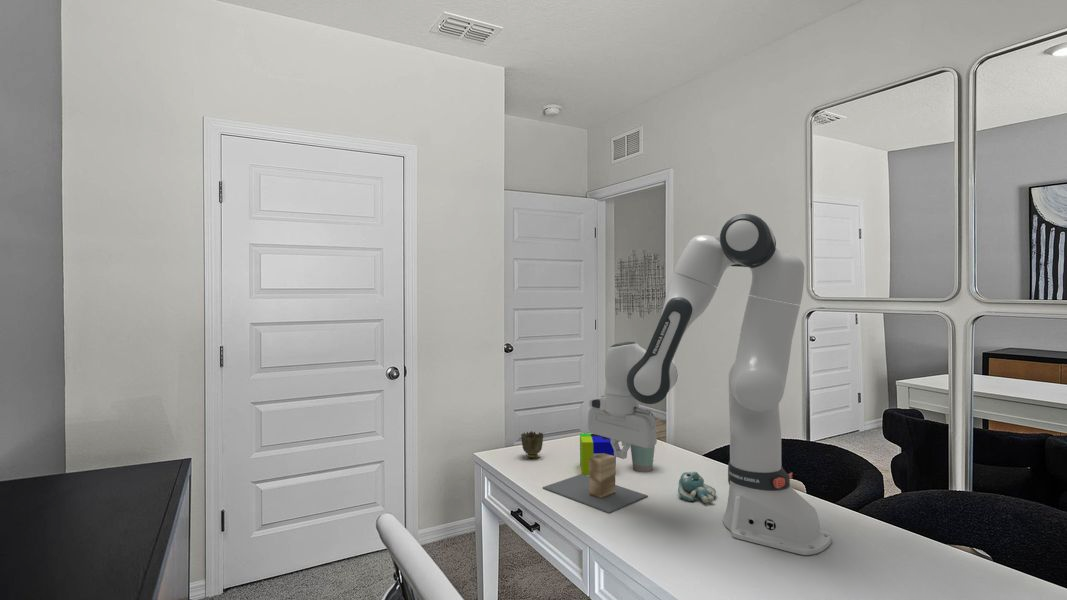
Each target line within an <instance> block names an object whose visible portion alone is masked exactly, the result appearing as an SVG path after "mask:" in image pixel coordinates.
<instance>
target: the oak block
mask: <svg viewBox="0 0 1067 600" xmlns="http://www.w3.org/2000/svg"><path fill="white" fill-rule="evenodd" d="M588 476H589V495H591V496H594V497H597V498H599V499H602V498H605V497H607V496H610V495H612V494H615V485H616V475H615V456H612V455H608V454H605V453H603V454H600V455H596V456H593V457H590V458H589V475H588Z"/></svg>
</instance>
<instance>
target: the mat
mask: <svg viewBox="0 0 1067 600" xmlns="http://www.w3.org/2000/svg"><path fill="white" fill-rule="evenodd" d="M542 489H543V490H546V491H548V492H552V493H553V494H556V495H559V496H562V497H564V498H567V499H569V500H572V501H575V502H577V503H580V504H582V505H586V506H588V507H591V508H593V509H596V510H598V511H601V512H604V513H606V514H608V515H609V514H612V513H615V512H617V511H618V510H621V509H623V508H626V507H628V506H630V505H633V504H635V503H637V502H639V501H642V500H644V499H646V498H649V495H648V494H645V493H643V492H638V491H635V490H633V489H629V488H626V487H623V486H621V485H617V484H615V494H612V495H610V496H607V497H605V498H602V499H599V498H597V497H594V496H591V495H589V475H583V474H582V473H581V474H577V475H574V476H572V477H568V478H565V479H563V480H560V481H556V482H554V483H551V484H547V485H545V486H542Z"/></svg>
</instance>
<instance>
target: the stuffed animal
mask: <svg viewBox="0 0 1067 600" xmlns="http://www.w3.org/2000/svg"><path fill="white" fill-rule="evenodd" d="M677 491H678V494H679V496H680V498H682V500H685V501H689V502H690V501H691V502H694V501H695V499H696V498H695V496H697V497H698V498H699V499H701V501H702V502H703V503H704V504H707V503H713V502H714V500H715V497H716V493H717V491H716V489H715V488H714V487H712V486H710V485H708V484H706V483H705V480H704V478H703V476H702V475H700V474H699V473H698V471H689V472H683V473H681V475H680V478H679V480H678V487H677Z"/></svg>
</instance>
